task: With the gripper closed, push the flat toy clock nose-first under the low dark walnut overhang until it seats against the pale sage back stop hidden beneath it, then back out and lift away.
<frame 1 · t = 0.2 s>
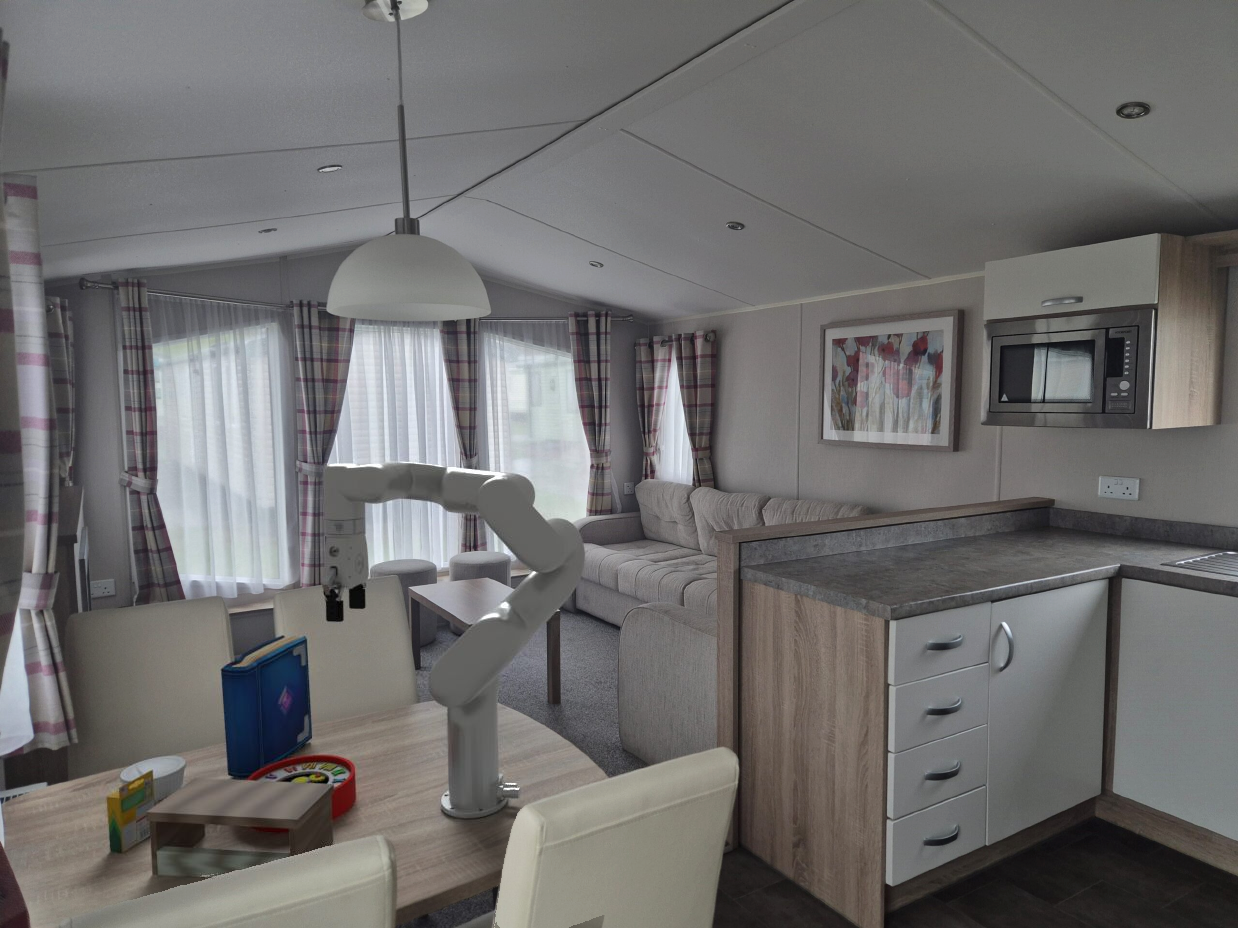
hand: (346, 614, 151), 36 cm above the table, tool pointing down, fingers open, 9 cm apart
walnut overhang: (245, 857, 132), on the table
ramekin: (154, 794, 155), on the table
crayon box: (133, 842, 137), on the table
toy clock: (301, 807, 150), on the table
book: (270, 761, 169), on the table
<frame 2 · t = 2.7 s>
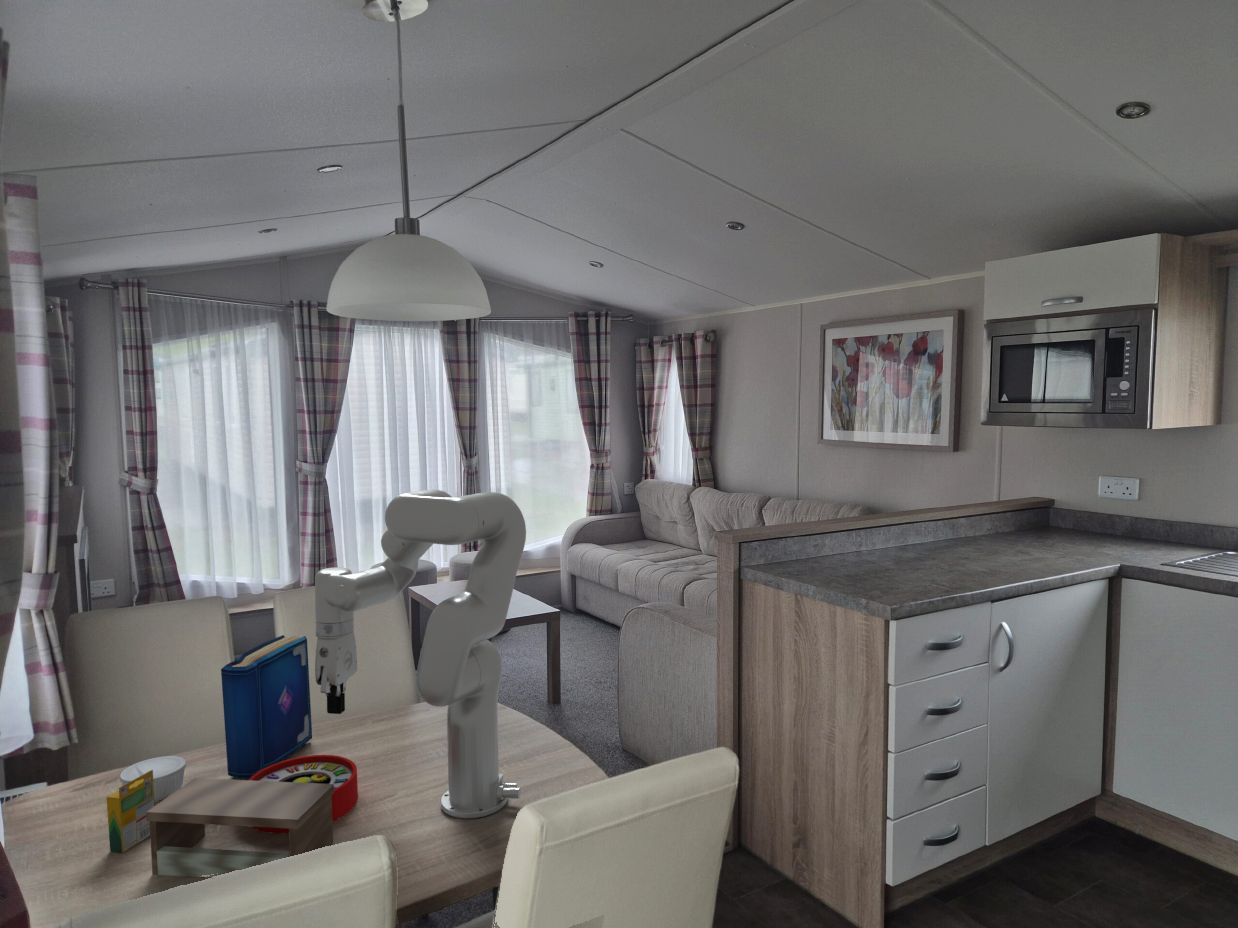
hand: (336, 711, 165), 12 cm above the table, tool pointing down, fingers closed
nothing on the table moved.
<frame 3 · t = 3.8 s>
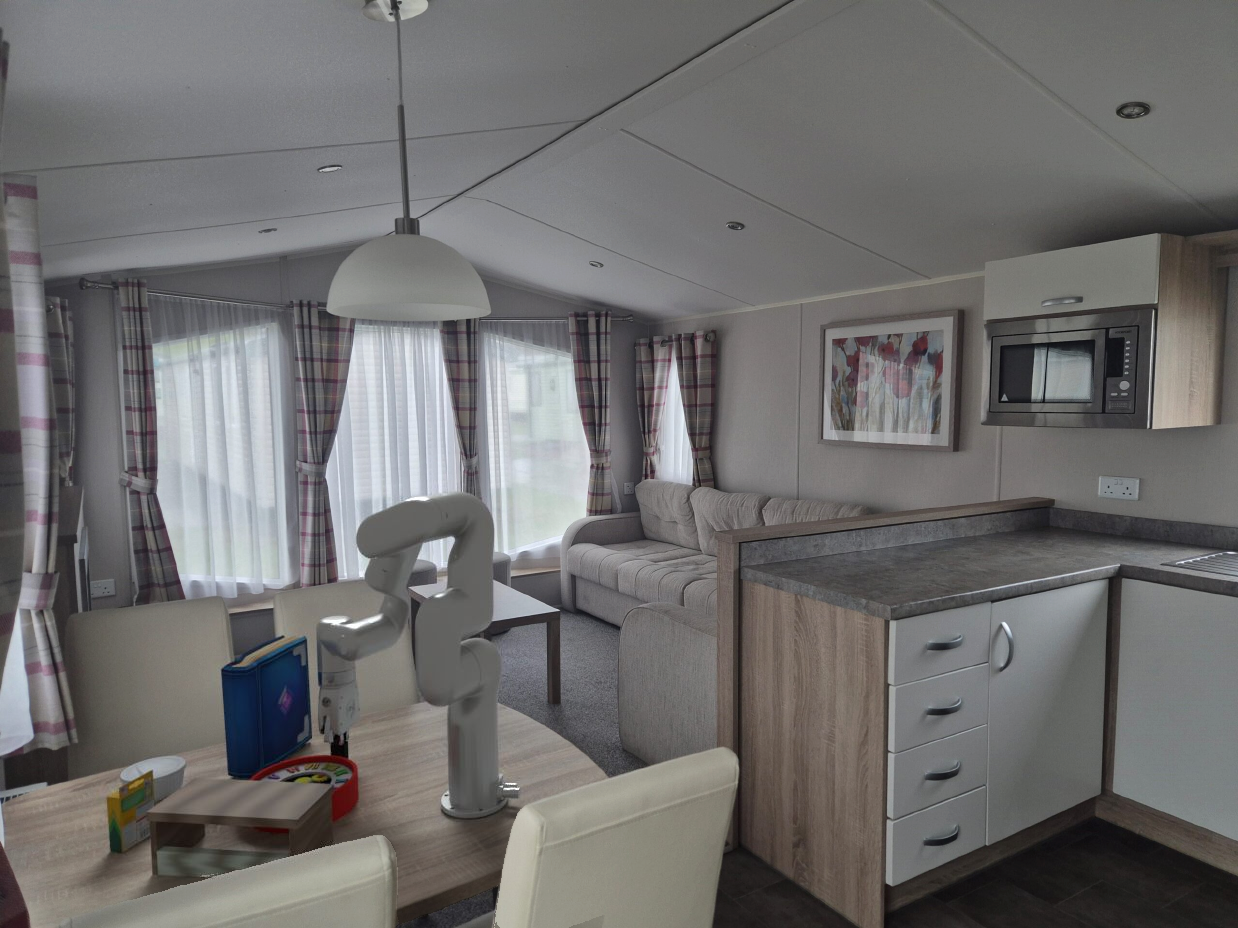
hand: (339, 760, 165), 2 cm above the table, tool pointing down, fingers closed
nothing on the table moved.
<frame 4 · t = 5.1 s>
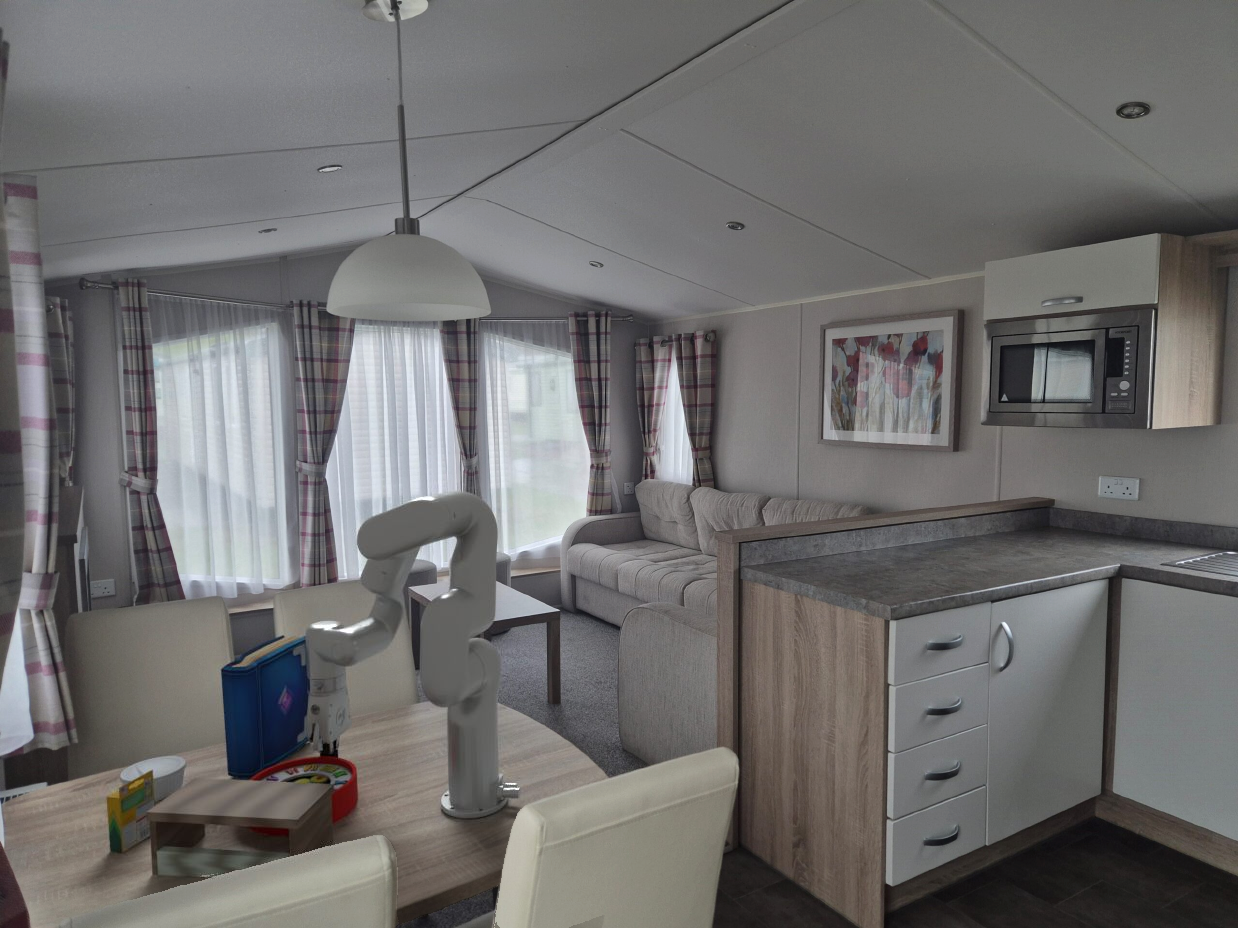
hand: (329, 769, 161), 2 cm above the table, tool pointing down, fingers closed
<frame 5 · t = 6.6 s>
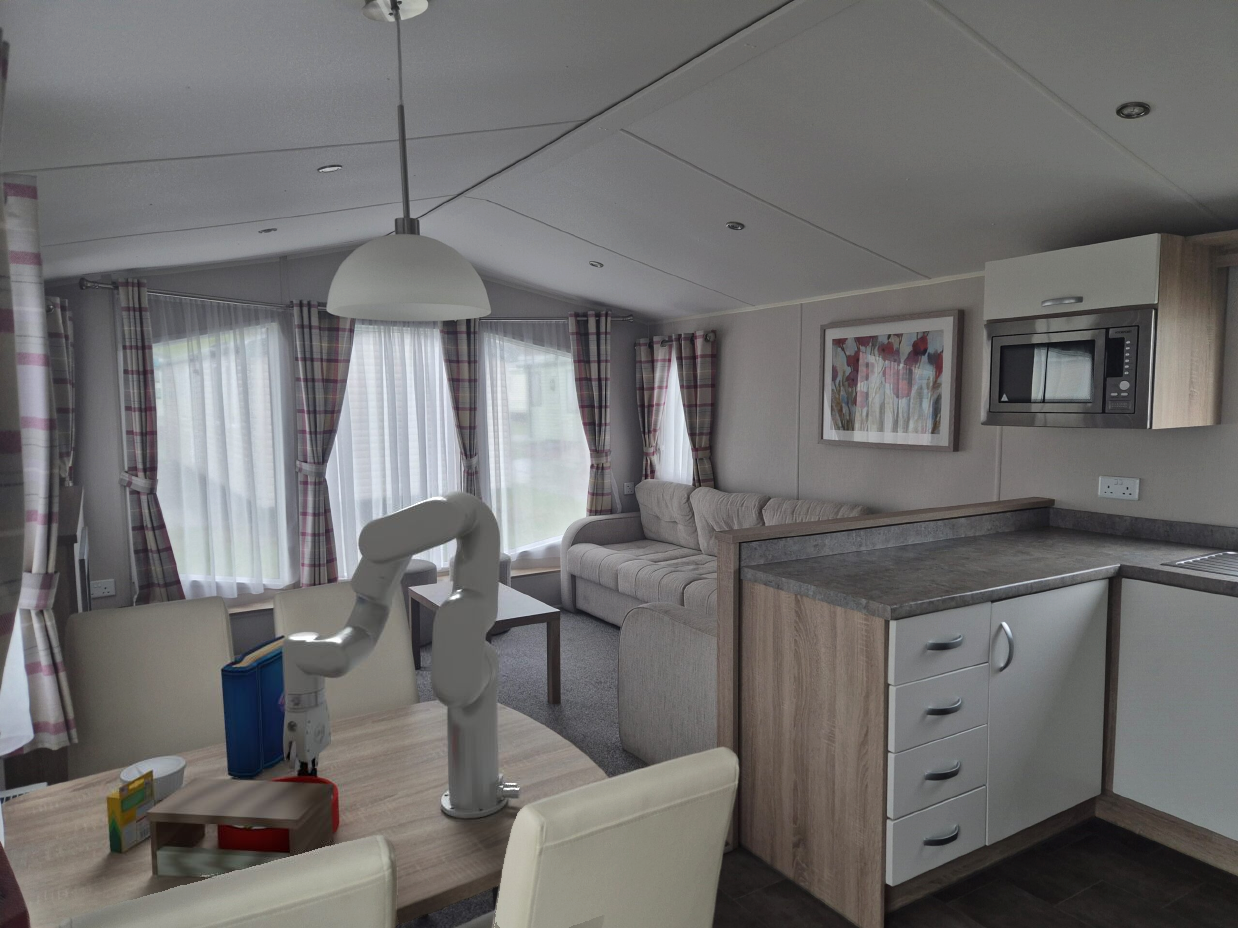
hand: (307, 788, 152), 2 cm above the table, tool pointing down, fingers closed
toy clock: (280, 833, 140), on the table, touching gripper
everything else where it was.
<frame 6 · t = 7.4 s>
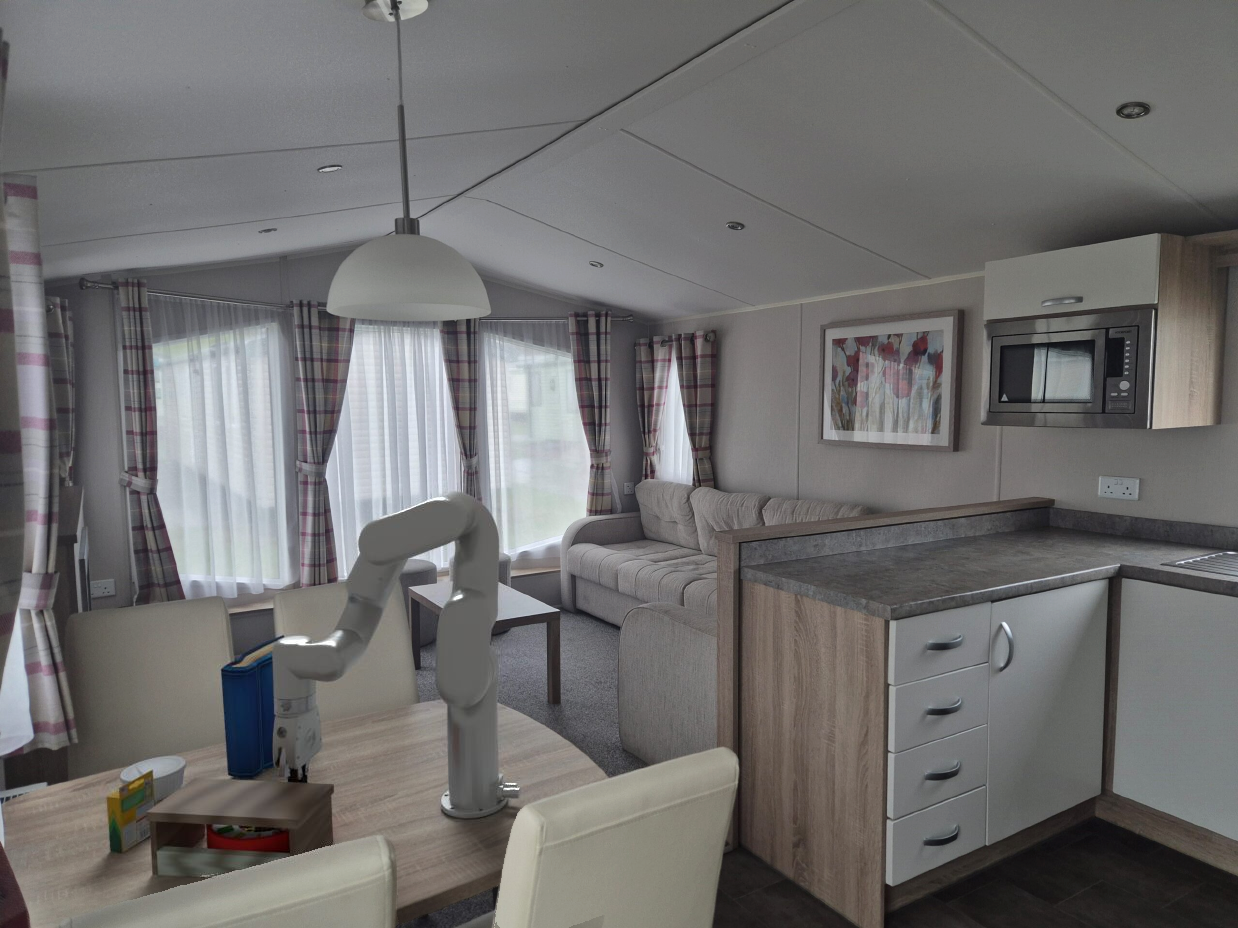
hand: (297, 795, 149), 2 cm above the table, tool pointing down, fingers closed
toy clock: (271, 842, 137), on the table, touching gripper, walnut overhang
everything else where it was.
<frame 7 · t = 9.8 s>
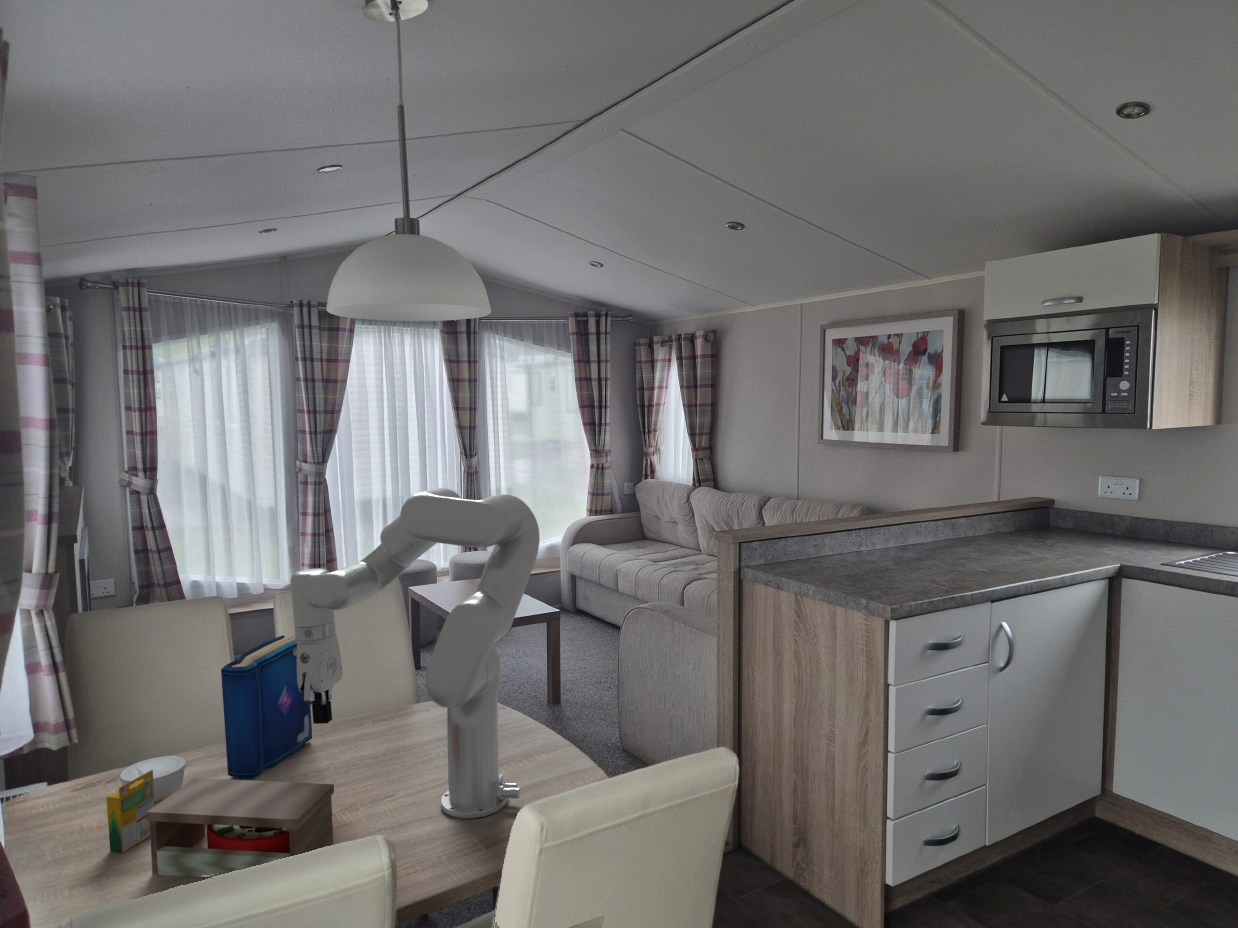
hand: (322, 721, 156), 13 cm above the table, tool pointing down, fingers closed
toy clock: (272, 843, 137), on the table
everything else where it was.
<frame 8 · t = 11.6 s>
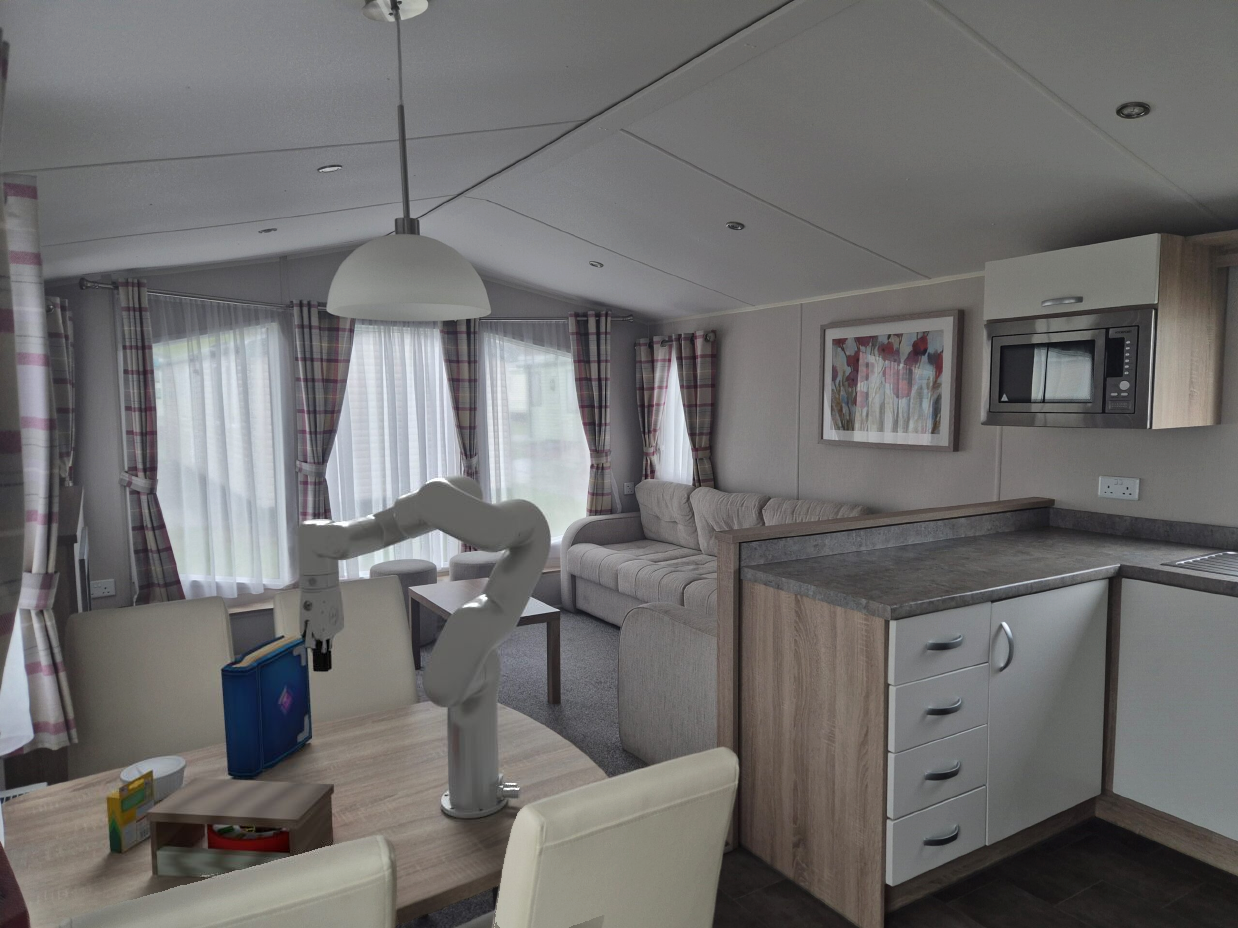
hand: (322, 670, 158), 23 cm above the table, tool pointing down, fingers closed
nothing on the table moved.
at the end: toy clock 1.5 cm from the target spot, on the table; toy clock tilted 1° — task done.
